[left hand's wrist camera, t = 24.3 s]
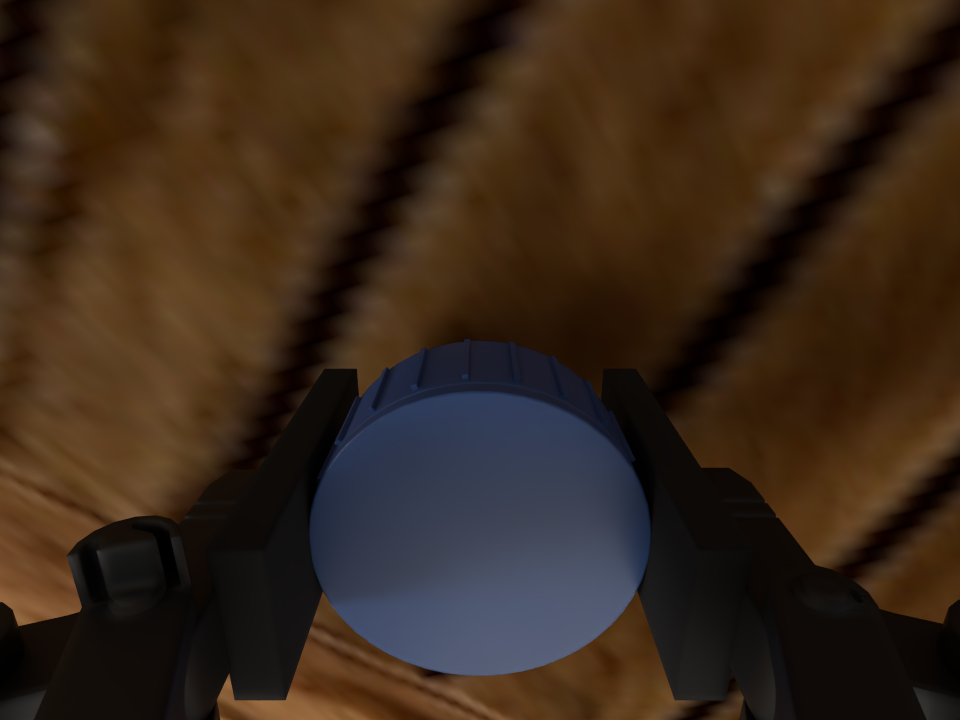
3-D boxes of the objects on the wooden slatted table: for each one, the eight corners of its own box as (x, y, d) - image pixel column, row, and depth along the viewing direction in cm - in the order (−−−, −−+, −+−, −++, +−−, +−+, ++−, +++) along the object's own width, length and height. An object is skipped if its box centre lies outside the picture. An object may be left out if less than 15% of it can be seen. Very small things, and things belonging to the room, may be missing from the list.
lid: (680, 418, 12) (728, 485, 10) (531, 623, 14) (541, 720, 12) (414, 281, 11) (397, 320, 9) (292, 522, 13) (252, 606, 11)
